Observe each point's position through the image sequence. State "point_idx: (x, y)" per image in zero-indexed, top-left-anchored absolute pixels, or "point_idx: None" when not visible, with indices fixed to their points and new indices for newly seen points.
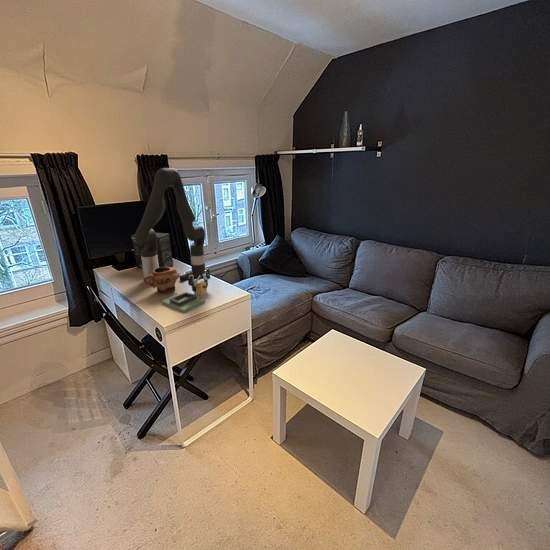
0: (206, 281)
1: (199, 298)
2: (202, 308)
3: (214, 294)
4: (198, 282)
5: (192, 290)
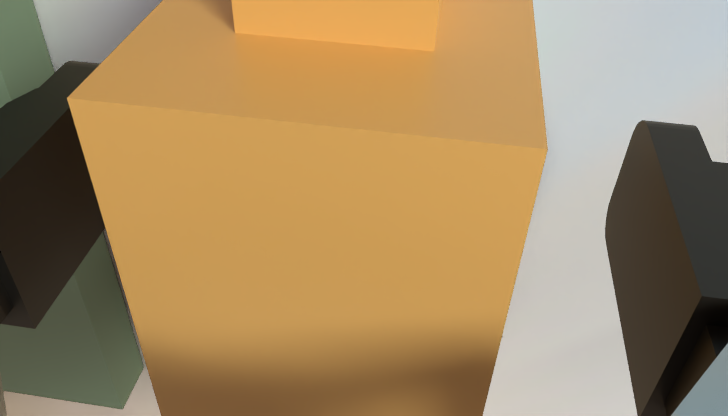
0: (647, 412)
1: (82, 320)
2: (19, 413)
3: (507, 343)
4: (239, 334)
5: (25, 99)
